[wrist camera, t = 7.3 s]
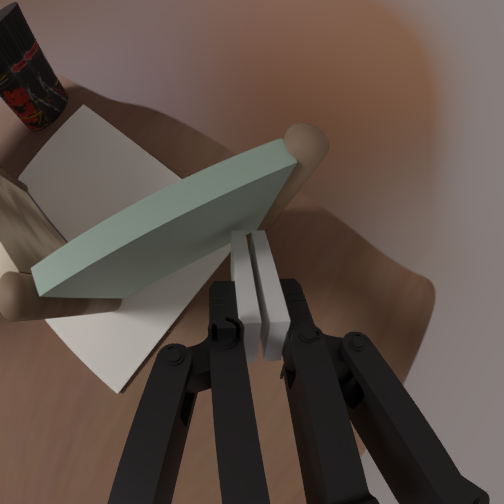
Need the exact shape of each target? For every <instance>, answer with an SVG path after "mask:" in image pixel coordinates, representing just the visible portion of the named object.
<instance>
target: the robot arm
mask: <svg viewBox="0 0 504 504" xmlns="http://www.w3.org/2000/svg"><path fill="white" fill-rule="evenodd" d="M230 270H231V281H214V282H213V284H212V285H211V287H210V289H209V322H210V323H209V326H208V337H207V338H206V339H205V340H204V341H203V342H201V343H200V344H197V345H195V346H191V347H188V348H187V347H185V346H184V345H181V344H173V343H172V344H169V345H166V346H164V347H163V348H162V349H161V350H160V351H159V353H158V354H157V357H156V360H155V362H154V365H153V367H152V370H151V373H150V375H149V378H148V381H147V383H146V386H145V389H144V392H143V394H142V397H141V400H140V403H139V406H138V408H137V411H136V414H135V417H134V420H133V423H132V426H131V429H130V432H129V435H128V438H127V441H126V444H125V447H124V450H123V453H122V456H121V459H120V463H119V466H118V469H117V472H116V476H115V479H114V483H113V486H112V490H111V493H110V497H109V500H108V504H171V502H172V498H173V493H174V489H175V485H176V480H177V476H178V472H179V467H180V463H181V459H182V455H183V451H184V446H185V442H186V438H187V434H188V430H189V426H190V422H191V418H192V414H193V410H194V406H195V402H196V398H197V394H198V392H201V391H204V390H207V389H210V388H211V389H212V404H213V417H214V430H215V441H216V452H217V462H218V471H219V480H220V488H221V496H222V504H270V500H269V494H268V489H267V483H266V478H265V472H264V467H263V461H262V455H261V449H260V443H259V437H258V431H257V425H256V419H255V413H254V406H253V400H252V394H251V387H250V381H249V374H248V367H247V362H256V359H257V352H258V345H259V338H260V342H261V348H262V354H263V360H264V361H274V360H281V356H282V355H283V360H284V364H283V368H282V371H281V374H280V379H283V376H284V380H285V386H286V391H287V396H288V402H289V407H290V413H291V418H292V424H293V429H294V435H295V440H296V446H297V451H298V457H299V462H300V468H301V474H302V479H303V485H304V491H305V496H306V502H307V504H379V502H378V500H377V499H376V498H375V497H373V496H372V495H371V494H370V492H369V490H368V487H367V483H366V479H365V475H364V471H363V467H362V463H361V459H360V455H359V451H358V448H357V444H356V440H355V436H354V433H353V429H352V426H351V422H352V424H353V426H354V428H355V429H356V431H357V433H358V434H359V436H360V438H361V440H362V441H363V443H364V445H365V446H366V448H367V450H368V452H369V453H370V455H371V457H372V458H373V460H374V462H375V464H376V465H377V467H378V469H379V470H380V472H381V474H382V476H383V477H384V479H385V481H386V483H387V484H388V486H389V488H390V489H391V491H392V493H393V495H394V496H395V498H396V500H397V501H398V503H399V504H489V500H490V499H489V495H488V494H487V493H486V492H485V491H484V490H482V489H481V488H479V487H478V486H476V485H475V484H473V483H472V482H470V481H469V480H467V479H466V478H464V477H463V476H462V475H460V472H459V471H458V469H457V468H456V466H455V464H454V463H453V461H452V459H451V458H450V456H449V455H448V453H447V451H446V450H445V448H444V447H443V445H442V443H441V442H440V440H439V439H438V437H437V436H436V434H435V433H434V431H433V429H432V428H431V427H430V425H429V423H428V422H427V421H426V419H425V417H424V416H423V414H422V413H421V411H420V410H419V408H418V407H417V405H416V404H415V402H414V401H413V400H412V398H411V397H410V395H409V394H408V392H407V391H406V390H405V388H404V387H403V385H402V384H401V382H400V381H399V379H398V378H397V377H396V375H395V374H394V372H393V371H392V370H391V368H390V367H389V365H388V364H387V363H386V361H385V360H384V358H383V357H382V356H381V354H380V353H379V351H378V350H377V349H376V347H375V346H374V345H373V343H372V342H371V341H370V339H369V338H368V337H367V336H366V335H364V334H362V333H360V332H349V333H348V334H346V335H345V336H344V338H339V337H333V336H329V335H326V334H324V333H322V331H321V330H320V329H319V328H318V327H316V326H315V324H314V322H313V319H312V316H311V313H310V310H309V308H308V305H307V302H306V299H305V296H304V295H303V291H302V288H301V285H300V284H299V283H298V282H297V281H296V280H295V279H279V278H278V274H277V271H276V267H275V264H274V260H273V257H272V254H271V250H270V247H269V243H268V240H267V236H266V233H265V230H251V241H250V255H249V250H248V244H247V239H246V233H245V230H243V231H231V266H230ZM350 421H351V422H350Z"/></svg>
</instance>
